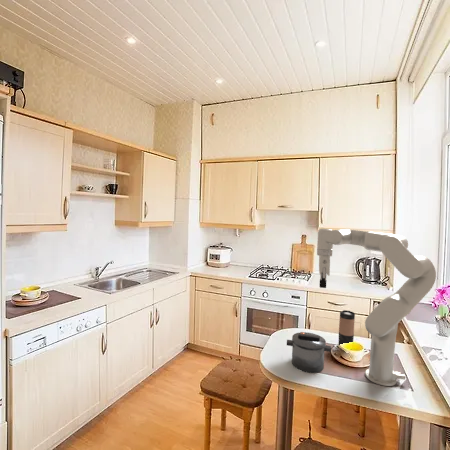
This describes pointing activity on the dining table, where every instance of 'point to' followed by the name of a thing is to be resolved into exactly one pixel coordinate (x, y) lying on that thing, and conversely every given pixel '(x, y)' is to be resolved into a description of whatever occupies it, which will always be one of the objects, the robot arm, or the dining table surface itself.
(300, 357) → the cooker pot
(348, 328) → the travel mug
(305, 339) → the lid
